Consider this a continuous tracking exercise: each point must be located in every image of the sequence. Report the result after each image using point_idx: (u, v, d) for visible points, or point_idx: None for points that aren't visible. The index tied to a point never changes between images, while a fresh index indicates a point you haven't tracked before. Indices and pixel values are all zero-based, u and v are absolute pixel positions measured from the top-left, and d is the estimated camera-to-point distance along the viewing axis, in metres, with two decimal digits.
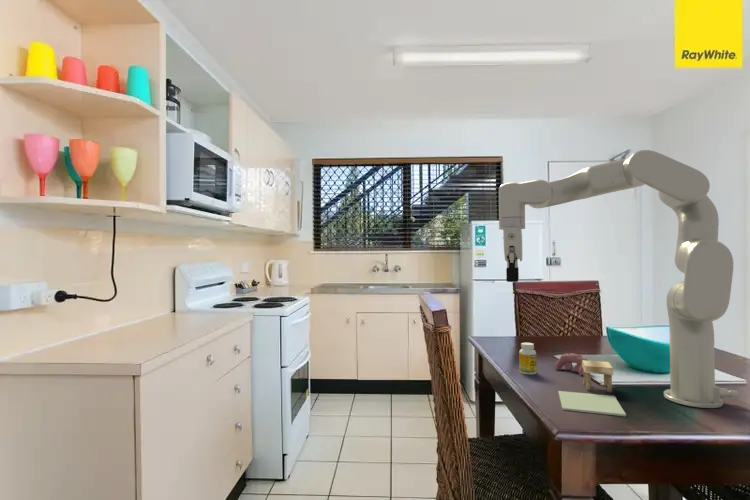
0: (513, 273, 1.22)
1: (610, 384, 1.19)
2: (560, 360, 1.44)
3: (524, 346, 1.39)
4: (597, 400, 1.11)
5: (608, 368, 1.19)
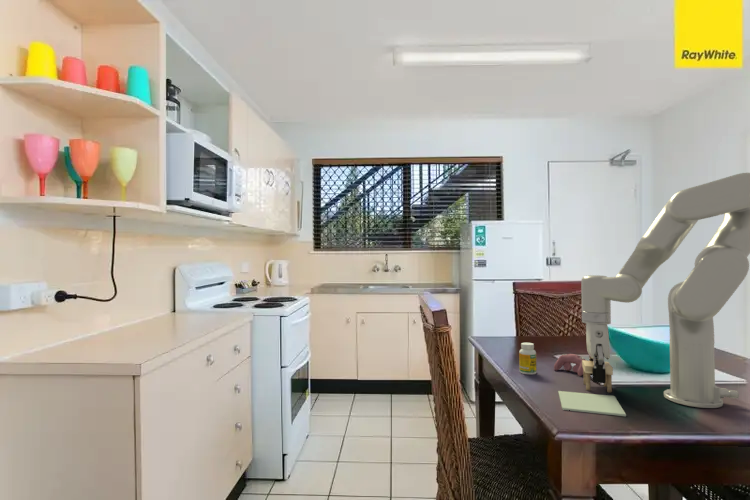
0: (601, 374, 1.19)
1: (610, 384, 1.19)
2: (559, 360, 1.43)
3: (524, 346, 1.39)
4: (597, 400, 1.11)
5: (608, 368, 1.19)
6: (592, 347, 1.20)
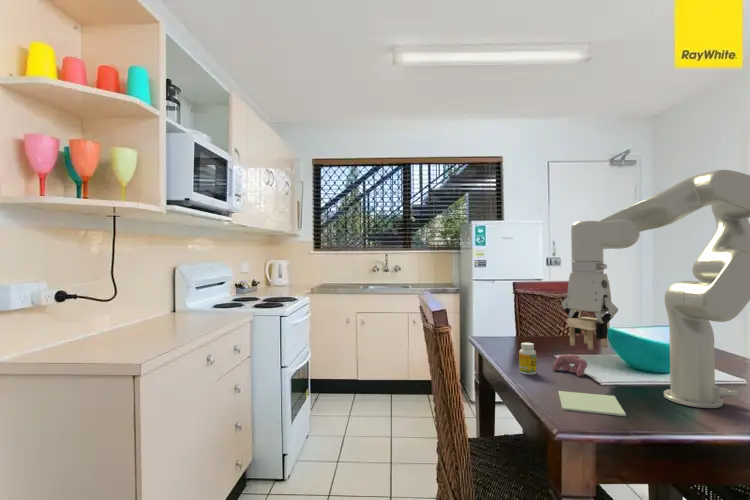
0: (606, 329, 1.07)
1: None
2: (558, 361, 1.43)
3: (524, 346, 1.39)
4: (597, 400, 1.11)
5: None
6: (600, 299, 1.06)
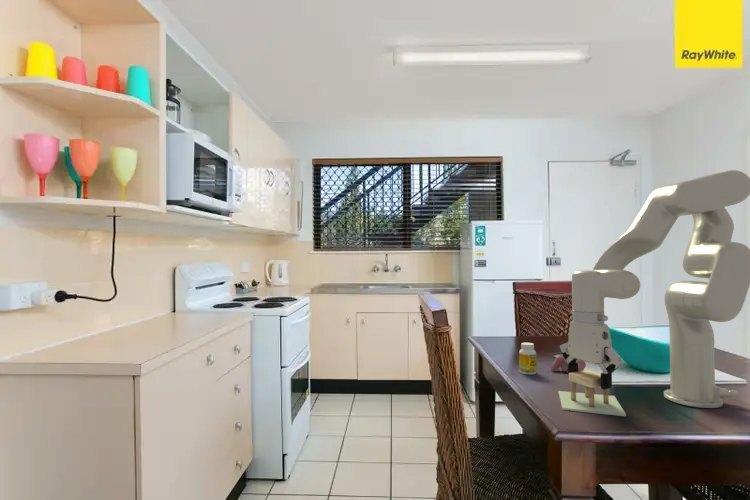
0: (610, 379, 1.06)
1: (608, 395, 1.09)
2: (556, 361, 1.42)
3: (524, 346, 1.39)
4: (597, 400, 1.11)
5: None
6: (601, 351, 1.06)
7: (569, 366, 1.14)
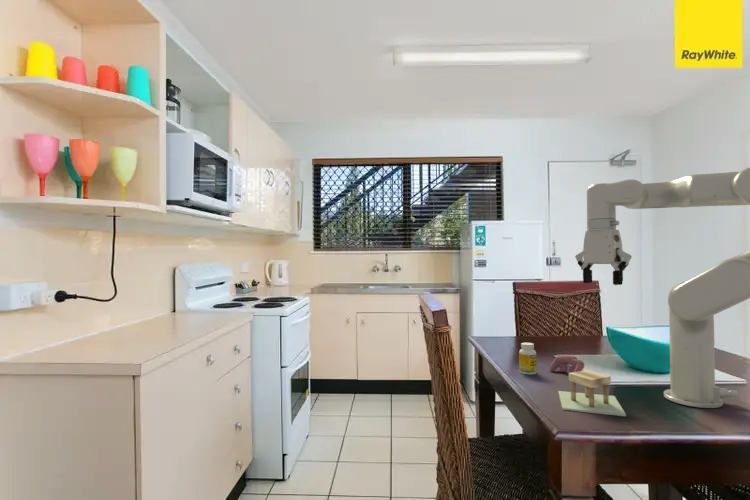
0: (621, 276, 1.20)
1: (608, 395, 1.09)
2: (555, 362, 1.41)
3: (524, 346, 1.39)
4: (597, 400, 1.11)
5: (607, 377, 1.09)
6: (613, 252, 1.20)
7: (584, 271, 1.29)
